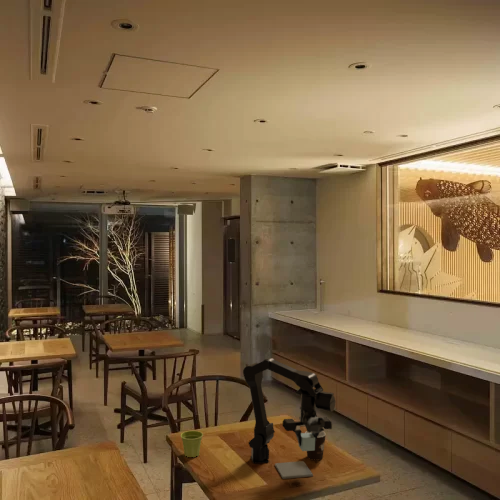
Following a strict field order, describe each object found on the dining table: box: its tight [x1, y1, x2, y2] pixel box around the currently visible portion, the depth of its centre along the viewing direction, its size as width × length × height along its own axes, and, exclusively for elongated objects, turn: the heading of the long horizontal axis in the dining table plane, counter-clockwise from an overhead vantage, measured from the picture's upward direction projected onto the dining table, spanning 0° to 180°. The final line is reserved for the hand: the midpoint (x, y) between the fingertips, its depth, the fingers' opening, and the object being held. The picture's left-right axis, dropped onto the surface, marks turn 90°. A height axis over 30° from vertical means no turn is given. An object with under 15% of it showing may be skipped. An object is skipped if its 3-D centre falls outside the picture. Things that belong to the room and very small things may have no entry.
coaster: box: [274, 460, 314, 480], centre depth 203 cm, size 12×12×1 cm
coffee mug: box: [304, 430, 327, 461], centre depth 217 cm, size 12×9×10 cm
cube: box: [298, 432, 315, 452], centre depth 202 cm, size 5×5×5 cm
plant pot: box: [180, 430, 204, 458], centre depth 217 cm, size 9×9×9 cm
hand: (306, 445), depth 202 cm, fingers closed on cube, 5 cm apart
